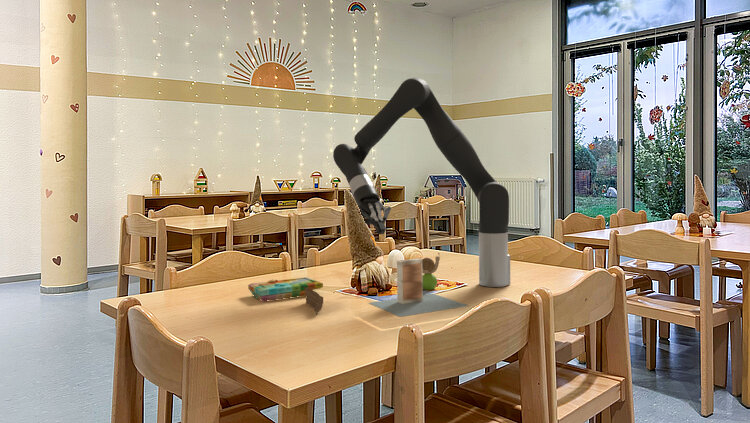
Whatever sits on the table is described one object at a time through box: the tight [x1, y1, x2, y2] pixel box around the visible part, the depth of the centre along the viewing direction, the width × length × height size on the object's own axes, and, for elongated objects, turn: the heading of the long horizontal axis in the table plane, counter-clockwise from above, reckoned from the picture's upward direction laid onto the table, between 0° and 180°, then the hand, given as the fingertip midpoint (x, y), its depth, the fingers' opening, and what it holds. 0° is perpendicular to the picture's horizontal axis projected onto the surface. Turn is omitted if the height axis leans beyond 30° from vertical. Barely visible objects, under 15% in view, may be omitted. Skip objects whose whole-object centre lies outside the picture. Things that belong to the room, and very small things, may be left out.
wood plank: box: [304, 287, 324, 316], centre depth 161 cm, size 15×2×5 cm, turn 23°
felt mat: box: [368, 293, 470, 318], centre depth 162 cm, size 22×18×1 cm
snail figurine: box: [421, 252, 441, 291], centre depth 181 cm, size 5×6×12 cm
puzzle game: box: [247, 277, 324, 302], centre depth 179 cm, size 12×5×20 cm
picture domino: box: [396, 257, 424, 304], centre depth 165 cm, size 7×3×12 cm, turn 118°
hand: (382, 232), depth 178 cm, fingers closed
